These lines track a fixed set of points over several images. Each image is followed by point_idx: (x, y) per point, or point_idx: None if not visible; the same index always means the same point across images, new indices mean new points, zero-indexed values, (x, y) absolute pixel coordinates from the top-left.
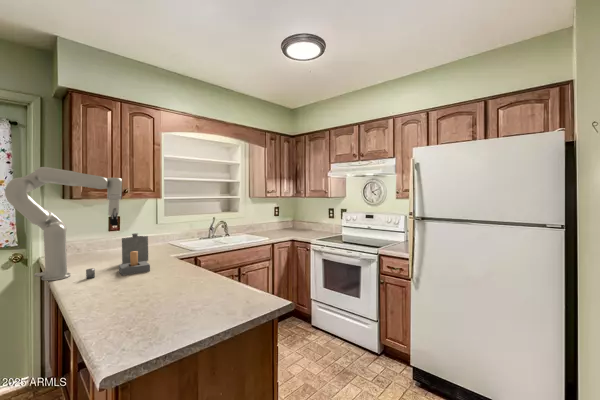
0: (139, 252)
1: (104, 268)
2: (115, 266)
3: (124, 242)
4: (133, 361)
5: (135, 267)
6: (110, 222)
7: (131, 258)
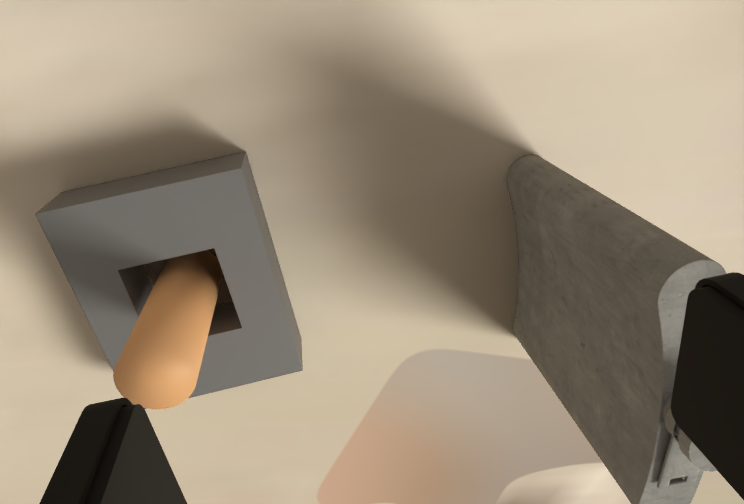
0: (555, 330)
1: (425, 10)
2: (455, 105)
3: (621, 268)
4: None
5: (89, 313)
6: (732, 318)
7: (139, 318)
